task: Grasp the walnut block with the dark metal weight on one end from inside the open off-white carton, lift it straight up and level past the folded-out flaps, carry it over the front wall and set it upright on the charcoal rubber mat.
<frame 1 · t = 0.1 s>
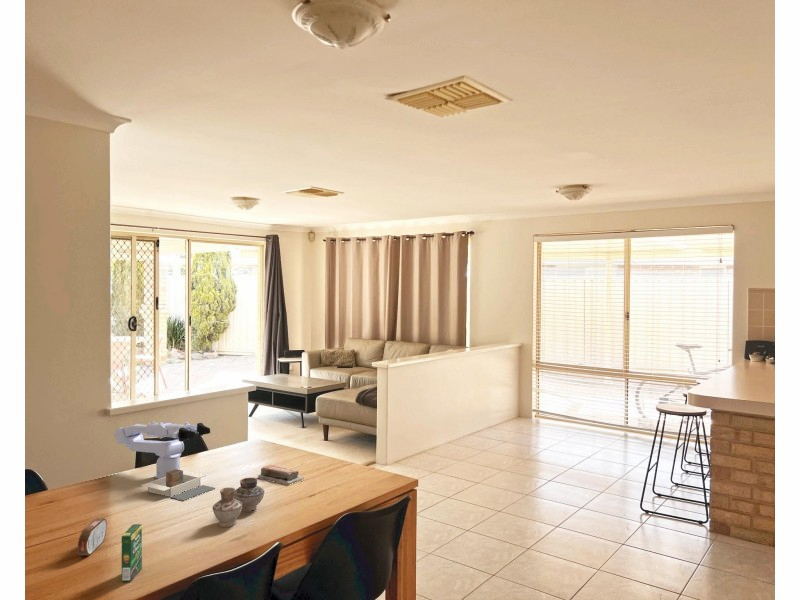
hand: (202, 432, 237), 22 cm above the table, tool horizontal, fingers open, 7 cm apart
pottery: (239, 516, 205), on the table
coffee box: (131, 576, 161), on the table
mat: (193, 493, 227), on the table
packaged product: (280, 480, 246), on the table
carton: (174, 488, 232), on the table
tin: (93, 550, 178), on the table
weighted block: (174, 480, 232), in the carton
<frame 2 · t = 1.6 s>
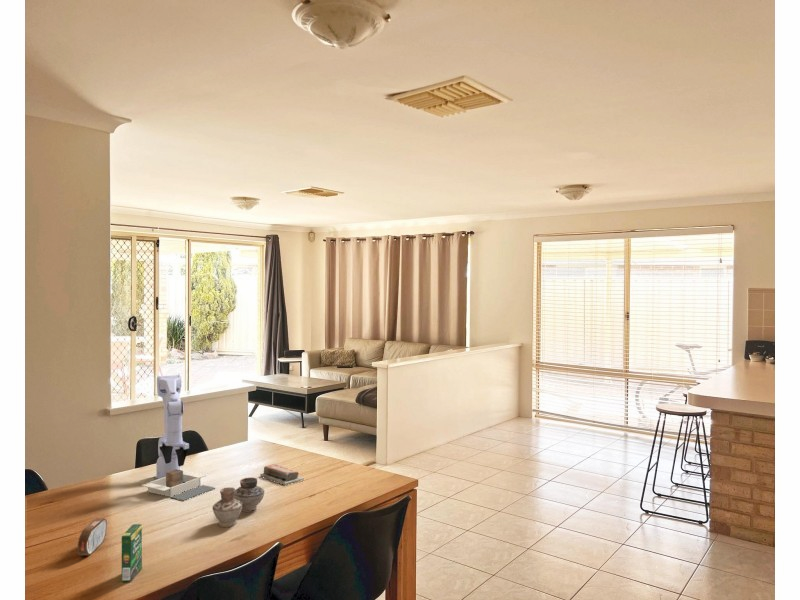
hand: (174, 464, 232), 10 cm above the table, tool pointing down, fingers open, 7 cm apart
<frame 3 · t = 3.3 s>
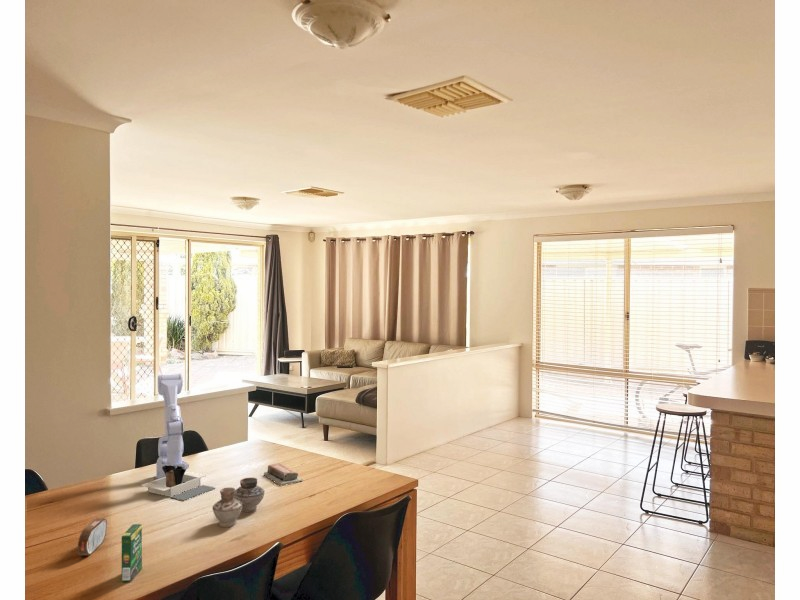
hand: (174, 483, 232), 2 cm above the table, tool pointing down, fingers closed on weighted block, 4 cm apart
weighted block: (174, 480, 232), in the carton, touching gripper
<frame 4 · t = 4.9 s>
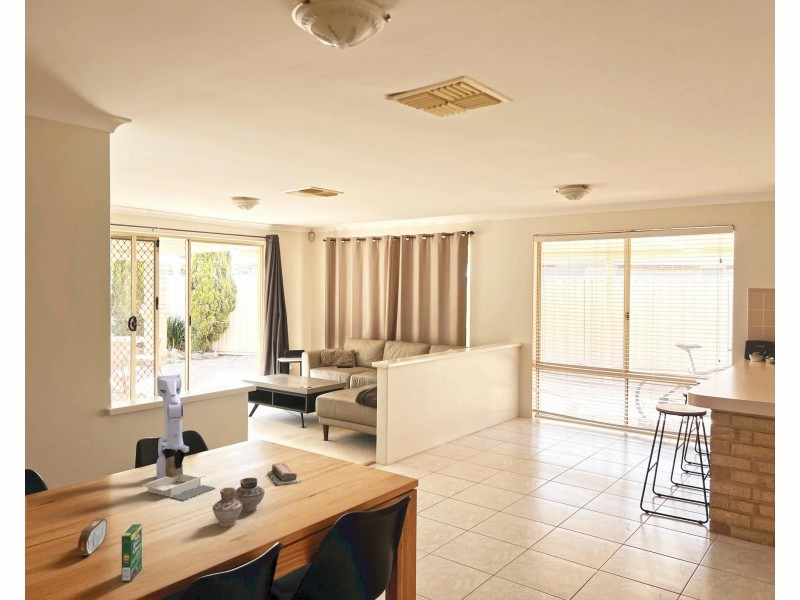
hand: (174, 467, 232), 9 cm above the table, tool pointing down, fingers closed on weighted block, 4 cm apart
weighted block: (174, 466, 232), point 9 cm above the table, touching gripper
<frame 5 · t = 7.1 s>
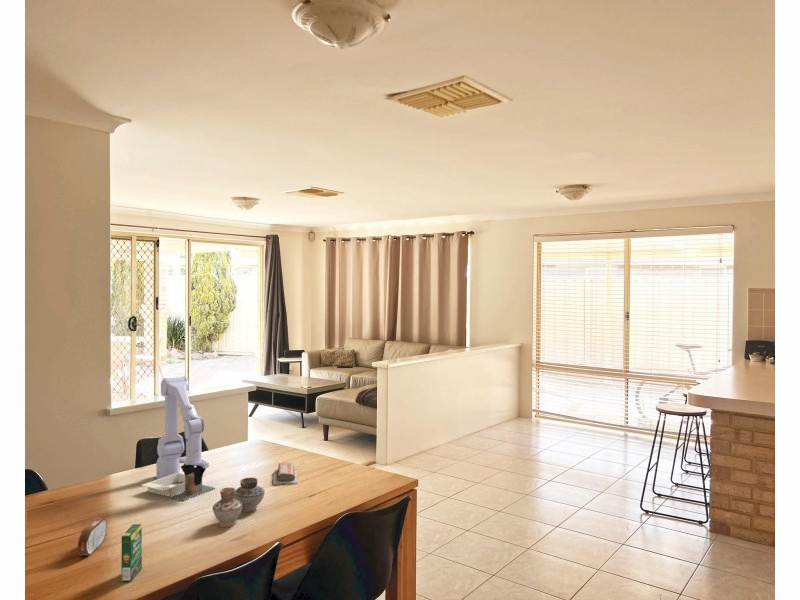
hand: (193, 483, 227), 4 cm above the table, tool pointing down, fingers closed on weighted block, 4 cm apart
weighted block: (193, 483, 227), on the mat, touching gripper
when the fingers open (4 cm above the table, at t = 7.7 s): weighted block stays where it is, resting on mat.
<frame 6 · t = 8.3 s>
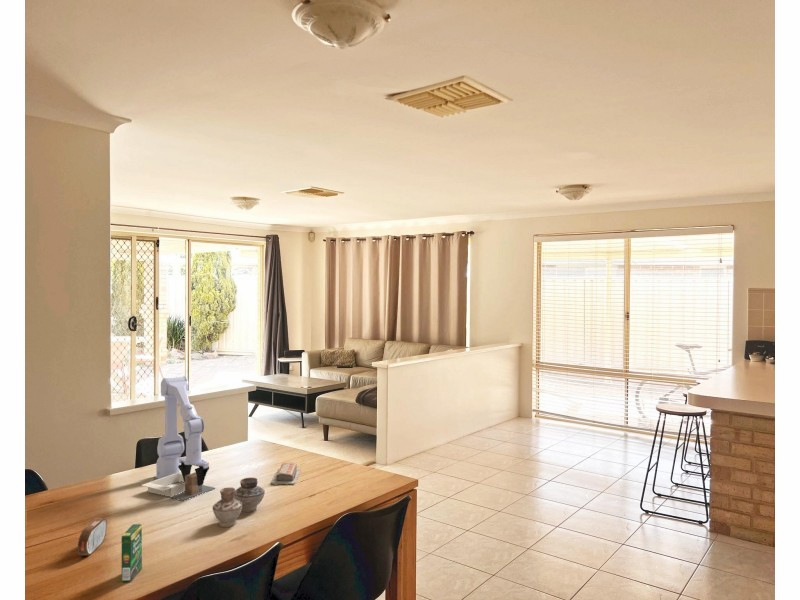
hand: (193, 483, 227), 4 cm above the table, tool pointing down, fingers open, 7 cm apart
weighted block: (193, 483, 227), on the mat
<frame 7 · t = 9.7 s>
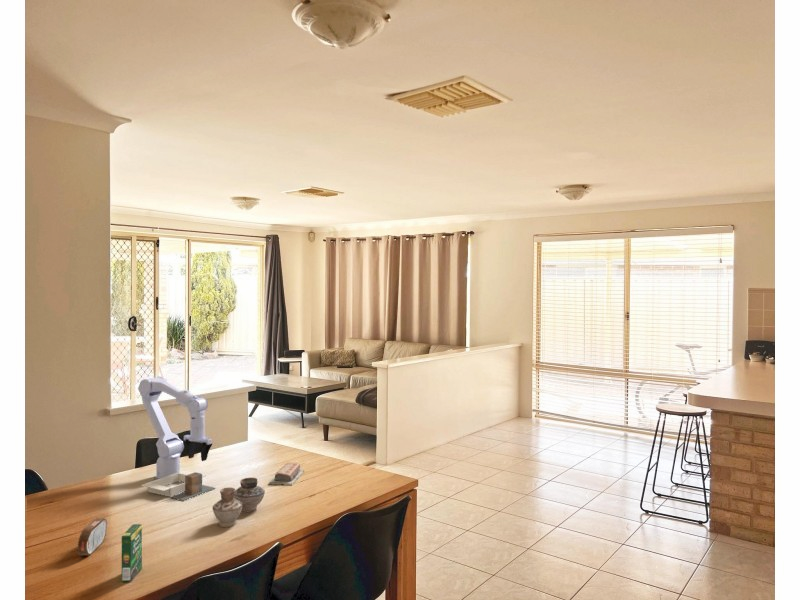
hand: (197, 459, 242), 9 cm above the table, tool pointing down, fingers open, 7 cm apart
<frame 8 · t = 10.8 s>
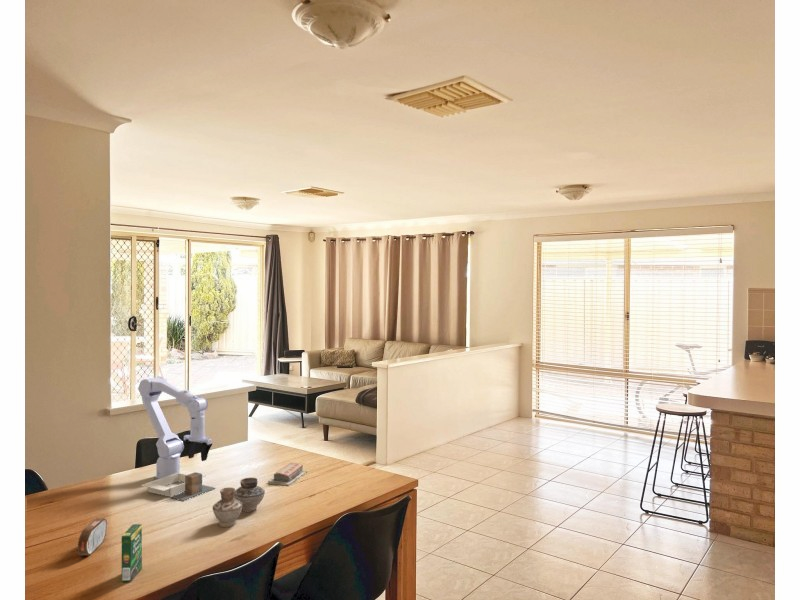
hand: (197, 459, 242), 9 cm above the table, tool pointing down, fingers open, 7 cm apart
at the end: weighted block inside the target area on the mat (0.0 cm from its centre), point 3.9 cm above the mat's base; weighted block tilted 0°; the gripper is holding nothing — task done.
